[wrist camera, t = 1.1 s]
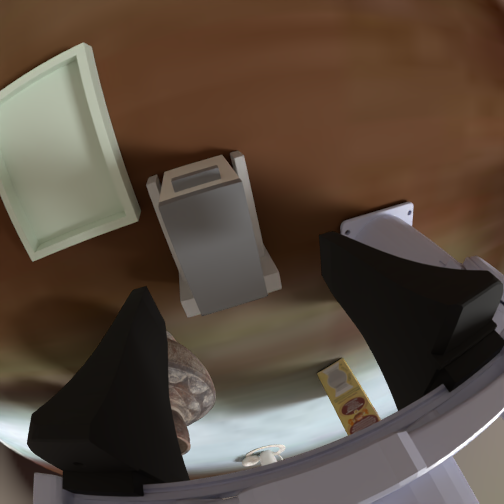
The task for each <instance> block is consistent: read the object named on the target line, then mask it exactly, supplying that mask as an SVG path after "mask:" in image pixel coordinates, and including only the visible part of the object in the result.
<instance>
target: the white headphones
mask: <svg viewBox="0 0 504 504" xmlns="http://www.w3.org/2000/svg"><path fill="white" fill-rule="evenodd" d="M267 447H279V448H280V450H279V451H278V452H276V453H275V452H272V451H271V450H266V451H263V452H261V453H260V457H259V456H257V455H252V456H251V454H252V453H254V452H255V451H257V450H260V449H263V448H267ZM284 450H285V446H284V445H279V444H278V445H269V446H264V447H261V448H258V449H255V450H253V451H251V452H249V453H248V454H247V455H246V458H245V459H243V461H242V464H243V465H244V466H251V465H254V464H256V463H257V462H259V460H260V461H261V466H263V465H267V464H271V463H274V462H277V460H276V458H275V455H279V453H281V452H283V451H284ZM273 453H274V454H273ZM279 456H280V455H279ZM280 457H281V456H280ZM281 459H282V460H283V458H282V457H281Z"/></svg>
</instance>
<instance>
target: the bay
mask: <svg viewBox="0 0 504 504" xmlns="http://www.w3.org/2000/svg"><path fill="white" fill-rule="evenodd" d="M230 157H231V161H232V165H233V170H234V171H235V173H236V174H237V175H238V177H239V178H240V179H241V181H242V183H243V187H244V192H245V196H246V200H247V205H248V209H249V214H250V218H251V222H252V227H253V231H254V236H255V240H256V244H257V249H258V253H259V258H260V262H261V267H262V271H263V276H264V280H265V285H266V289H267V293H270V292H273V291H276V290H280V289H282V286H281V280H280V275H279V271H278V269H277V267H276V266H275V264H274V262H273V260H272V259H271V257H270V255H269V253H268V251H267V250H266V248H265V246H264V244H263V242H262V237H261V232H260V228H259V223H258V218H257V214H256V209H255V204H254V200H253V195H252V191H251V186H250V181H249V177H248V172H247V168H246V163H245V159H244V155H243V154H241V153H240V152H239V151H235V152H231V153H230ZM146 186H147V189H148V192H149V195H150V198H151V200H152V203H153V206H154V209H155V211H156V214H157V217H158V220H159V222H160V225H161V227H162V230H163V233H164V235H165V238H166V240H167V243H168V245H169V248H170V251H171V253H172V255H173V258H174V260H175V263H176V265H177V268H178V270H179V285H180V302H181V304H182V306H183V308H184V310H185V312H186V315H187V317H192V316H195V315H199V314H201V313H200V311H199V308H198V306H197V304H196V301H195V299H194V297H193V294H192V292H191V290H190V287H189V285H188V283H187V280H186V278H185V275H184V273H183V270H182V268H181V266H180V263H179V261H178V258H177V256H176V253H175V250H174V248H173V245H172V243H171V240H170V238H169V235H168V232H167V230H166V227H165V224H164V222H163V219H162V216H161V214H160V211H159V208H158V204H159V198H160V193H161V185H160V182H159V179H158V175H154V176H151V177H149V178H148V181H147V184H146Z"/></svg>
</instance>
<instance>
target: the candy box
mask: <svg viewBox="0 0 504 504" xmlns="http://www.w3.org/2000/svg"><path fill="white" fill-rule="evenodd" d="M317 375H318V377H319V379H320V381H321V383H322V385H323V387H324V389H325V391H326V393H327V395H328V397H329V399H330V401H331V403H332V405H333V407H334V409H335V411H336V413H337V415H338V417H339V419H340V421H341V423H342V425H343V427H344V428H345V430H346V432H347V434H348V436H349V435H351V434H353V433H355V432H358V431H360V430H362V429H364V428H366V427H368V426H370V425H372V424H374V423H377V422H379V421H380V420H381V419H380V417H379V415H378V414H377V412H376V410H375V408H374V407H373V405H372V404H371V402H370V400H369V399H368V397H367V395H366V394H365V392H364V390H363V389H362V387H361V385H360V384H359V382H358V381H357V379H356V377H355V376H354V374H353V373H352V371H351V369H350V368H349V366H348V365H347V363H346V362H345V360H344V358H342V359H340V360H338V361H337V362H335V363H333V364H332V365H330V366H329V367H327V368H325V369H324V370H322V371H320V372H318V373H317Z"/></svg>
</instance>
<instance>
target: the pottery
mask: <svg viewBox="0 0 504 504" xmlns="http://www.w3.org/2000/svg"><path fill="white" fill-rule="evenodd" d="M166 333H167V341H168V378H169V397H170V404H171V409H172V415H173V420H174V425H175V430H176V434H177V439H178V442H179V446H180V450H181V454H182V455H184V454H186V453H187V452H188V451H189V450H190V438H189V432H188V429H187V426H189V425H190V424H192V423H194V422H196V421H197V420H199V419H201V418H202V417H204V416H205V415H206V414H207V413H208V412H209V411H210V410H211V409H212V407H213V406H214V404H215V400H216V391H215V388H214V385H213V382H212V379H211V377H210V375H209V373H208V372H207V370H206V368H205V367H204V365H203V364H202V363H201V362H200V360H199V359H198V358H197V357H196V356H195V355H194V354H193V353H192V352H191V351H189V350H188V349H187V348H186V347H184V346H183V345H181V344H180V343H178V342H176V340H175V339H174V337H173V336H172V335H171V334H170V333H169V332H168V331H166Z"/></svg>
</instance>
